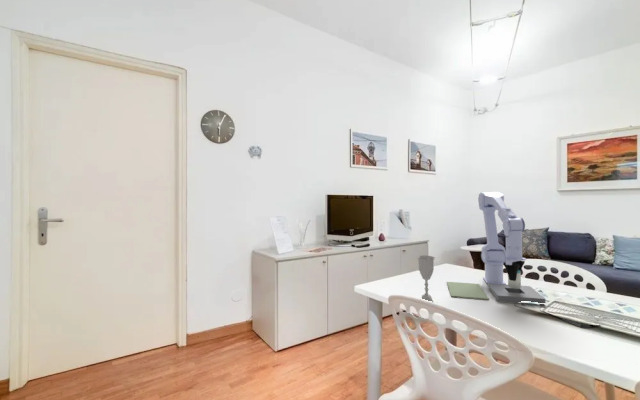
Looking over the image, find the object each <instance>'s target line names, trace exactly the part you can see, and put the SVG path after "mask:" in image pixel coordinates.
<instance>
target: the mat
mask: <svg viewBox="0 0 640 400" xmlns="http://www.w3.org/2000/svg"><path fill="white" fill-rule="evenodd" d="M446 284H447V287H448V290H449V294H450V297H451V298H457V297H459V298H460V299H471V300H483V301H489V300H490V298H489V297H488V295H487V293H485V292H486V291H484V289H483V288H482V286H481V285H480V283H473V282H471V283H469V282H456V281H455V282H454V281H446Z"/></svg>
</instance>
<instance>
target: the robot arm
mask: <svg viewBox="0 0 640 400" xmlns="http://www.w3.org/2000/svg"><path fill="white" fill-rule="evenodd" d="M478 207H479V210H481V211H482V212H483V213H482V214H483V220H484V221H483V222H484V228H485V236H486V244H485V245H483V246H482V247H481V254H480V257H481V260H482V262H483V263H484V264H485V265H484V274H485V275H484V276H483V277H482V278H483V280H484V281H485V282H486V283H487V284H488V285H489V284H504V285H507V282H505V281H504V268H505V270H506V273H507V278H508V277H509V280H512V281H516V277H517V271H518V270H520V271H521V272H522V268H523V267H524V265H525V261H526V260H527V259H526V257H523V232H524V231H525V229H526V223H525V221H524V218H523V217H519V216H517V215H516V214H515V213H514V211H513V210H512V208H510V207H508V206H507V205H506V203H505V195H504V193H503V192H502V191H489V192H483V191H481V192H480V193H478ZM496 211H497V216H498V217H499V219H500V221H501V222H502V229H503V234H504V236H505V247H504V245H502V244H500V243H499V237H498V230H497V220H496V214H495V212H496Z"/></svg>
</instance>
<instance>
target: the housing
mask: <svg viewBox="0 0 640 400" xmlns="http://www.w3.org/2000/svg"><path fill="white" fill-rule="evenodd" d="M488 290H489V292H490V293H491V294H492V296H493V297H494V298H495V300H496V301H497V303H498V302H499V303H511V304H512V303H513V304H519V303H518V302H521V301H531V302H538V303H546V298H545V297H544V296H543V295H542V294H540V293H539V292H538V291H537V290H535V288H533V287H532V286H530V285H521V288H520V289H514V288H510V287H508V284H506V285H505V284H489V283H488Z"/></svg>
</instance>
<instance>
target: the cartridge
mask: <svg viewBox="0 0 640 400" xmlns="http://www.w3.org/2000/svg"><path fill="white" fill-rule="evenodd" d="M507 285H508V287H510V288H514V289H520V288H521V286H522V270H521V271H520V270H518V271H517V277H516V281H512V280H509V277H508V276H507Z"/></svg>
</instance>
